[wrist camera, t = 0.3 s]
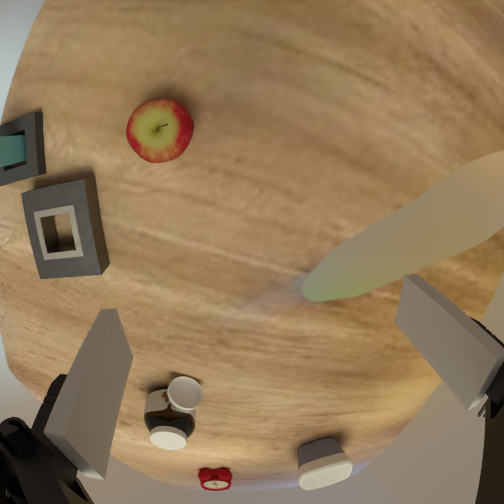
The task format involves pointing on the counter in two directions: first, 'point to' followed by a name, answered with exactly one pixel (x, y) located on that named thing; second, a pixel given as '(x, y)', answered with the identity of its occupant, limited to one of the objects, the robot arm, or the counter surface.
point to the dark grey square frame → (34, 148)
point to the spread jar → (173, 412)
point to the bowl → (322, 464)
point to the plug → (12, 150)
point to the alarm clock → (215, 479)
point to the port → (82, 223)
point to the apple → (160, 130)
